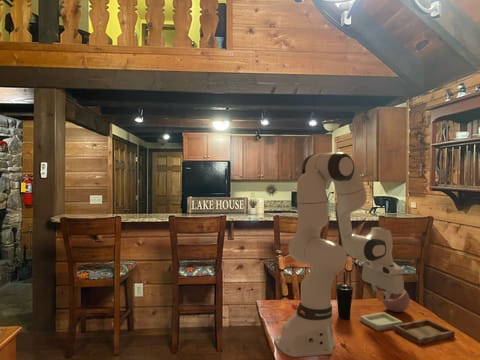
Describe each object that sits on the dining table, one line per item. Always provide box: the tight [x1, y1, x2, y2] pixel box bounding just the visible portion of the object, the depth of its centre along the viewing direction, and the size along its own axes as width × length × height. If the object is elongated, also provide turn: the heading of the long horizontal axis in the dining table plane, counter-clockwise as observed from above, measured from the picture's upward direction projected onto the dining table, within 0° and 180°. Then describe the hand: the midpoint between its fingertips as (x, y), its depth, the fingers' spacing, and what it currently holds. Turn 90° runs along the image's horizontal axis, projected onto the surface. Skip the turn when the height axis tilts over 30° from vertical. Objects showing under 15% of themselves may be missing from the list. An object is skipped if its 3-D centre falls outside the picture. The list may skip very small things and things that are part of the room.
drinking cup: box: [335, 271, 354, 321], centre depth 141 cm, size 8×8×20 cm
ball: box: [375, 289, 386, 302], centre depth 135 cm, size 4×4×4 cm
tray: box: [359, 311, 403, 332], centre depth 135 cm, size 13×10×2 cm
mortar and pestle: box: [381, 288, 411, 313], centre depth 148 cm, size 12×12×12 cm
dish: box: [393, 318, 456, 346], centre depth 126 cm, size 18×12×2 cm, turn 110°
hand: (381, 297), depth 135 cm, fingers closed on ball, 4 cm apart
